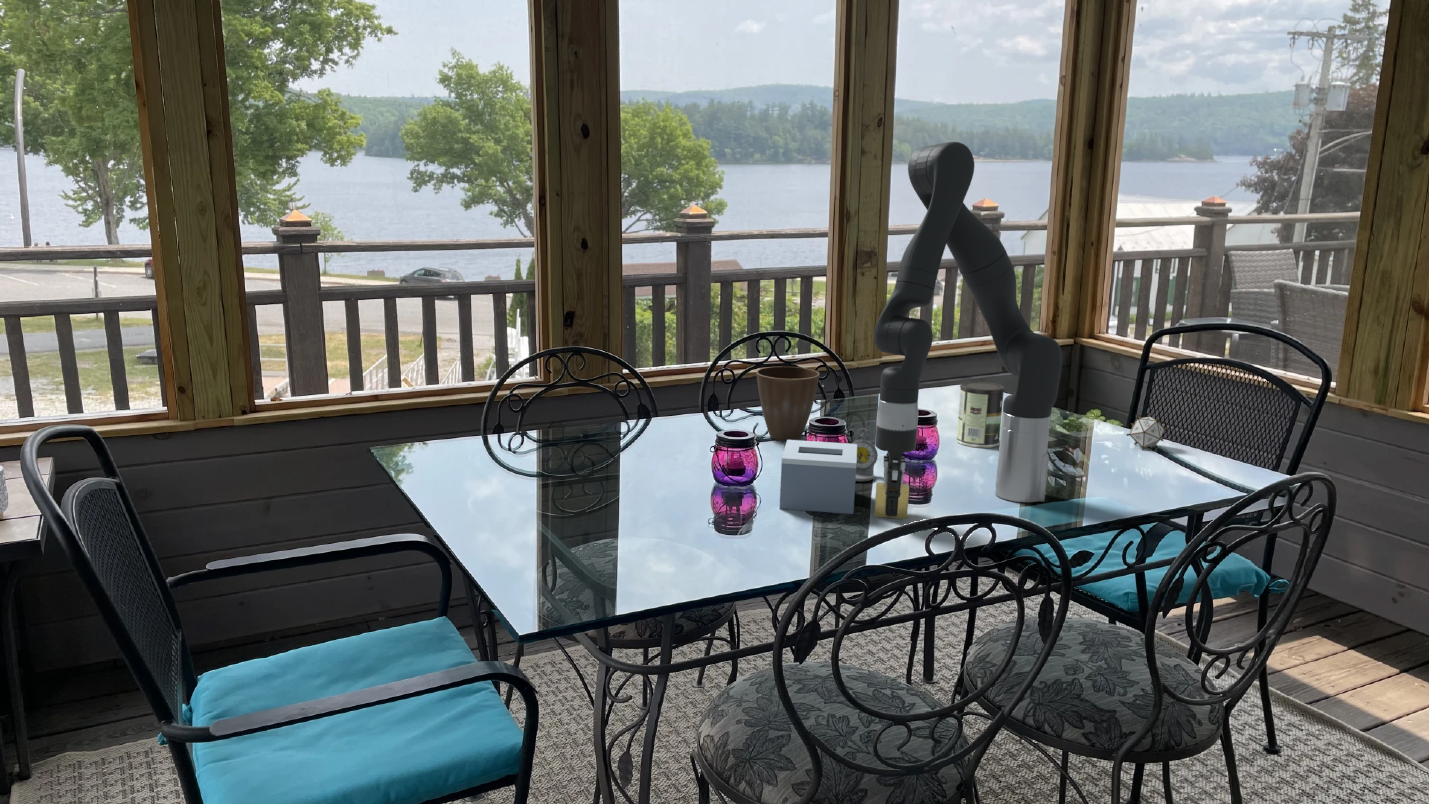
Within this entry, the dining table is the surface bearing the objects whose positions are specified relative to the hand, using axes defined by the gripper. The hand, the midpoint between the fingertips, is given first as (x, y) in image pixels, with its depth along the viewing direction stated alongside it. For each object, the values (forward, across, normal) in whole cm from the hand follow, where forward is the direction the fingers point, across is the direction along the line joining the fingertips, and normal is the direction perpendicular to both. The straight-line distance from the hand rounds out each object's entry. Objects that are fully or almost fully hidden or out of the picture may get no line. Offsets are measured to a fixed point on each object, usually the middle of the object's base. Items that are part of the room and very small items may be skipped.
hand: (890, 511), depth 200 cm
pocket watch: (+1, +24, +6) cm, 25 cm away
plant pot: (+1, +53, +24) cm, 58 cm away
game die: (+1, +65, -62) cm, 90 cm away
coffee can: (+1, +60, -22) cm, 64 cm away
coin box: (+1, +6, +14) cm, 15 cm away
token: (+1, 0, 0) cm, 1 cm away
